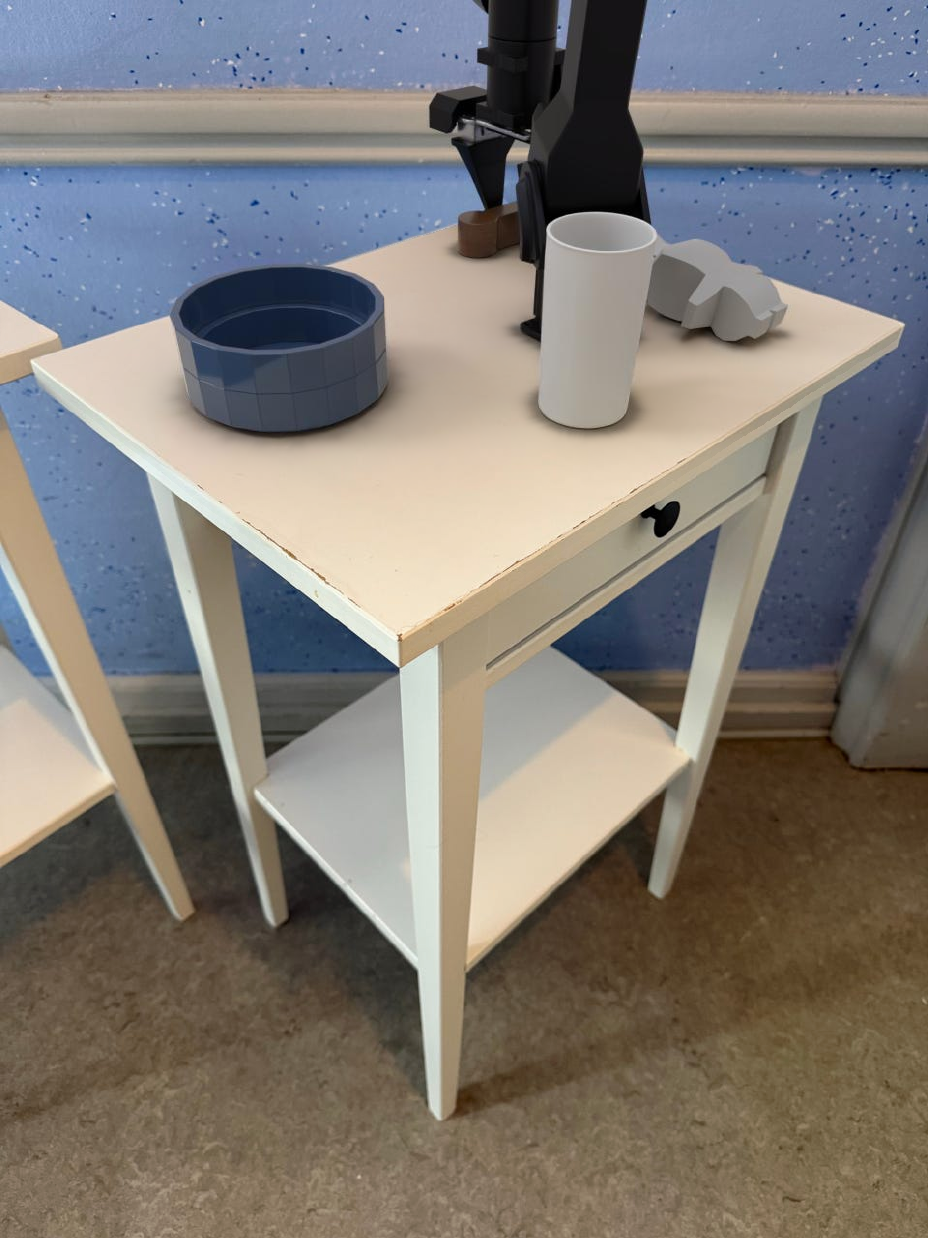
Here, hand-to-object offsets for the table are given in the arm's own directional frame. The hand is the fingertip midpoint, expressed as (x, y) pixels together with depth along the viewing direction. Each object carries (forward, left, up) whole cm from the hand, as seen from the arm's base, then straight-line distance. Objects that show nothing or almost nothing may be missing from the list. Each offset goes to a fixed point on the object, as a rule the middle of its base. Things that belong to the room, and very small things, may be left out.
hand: (513, 228), depth 86 cm
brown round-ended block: (0, +1, -1) cm, 2 cm away
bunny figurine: (-21, -1, -1) cm, 21 cm away
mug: (-26, +15, -1) cm, 30 cm away
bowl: (-11, +31, -1) cm, 33 cm away
